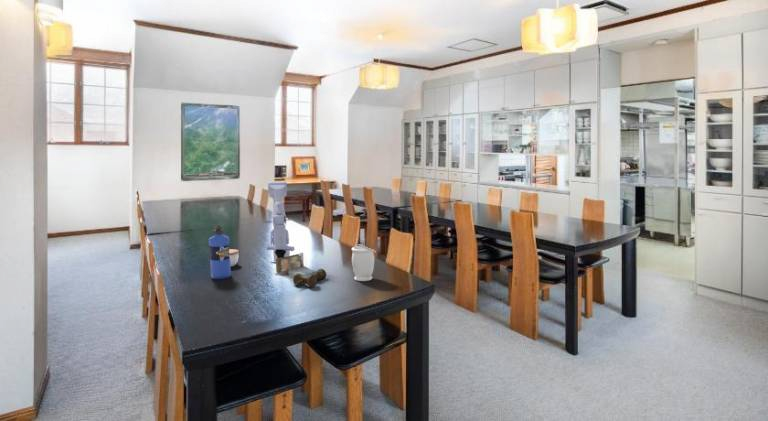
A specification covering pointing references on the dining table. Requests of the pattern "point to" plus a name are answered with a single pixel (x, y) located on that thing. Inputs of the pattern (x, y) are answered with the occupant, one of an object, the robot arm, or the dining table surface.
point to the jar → (362, 263)
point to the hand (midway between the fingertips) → (281, 264)
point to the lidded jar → (233, 256)
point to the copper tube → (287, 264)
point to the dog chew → (309, 278)
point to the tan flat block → (292, 262)
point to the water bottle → (219, 254)
